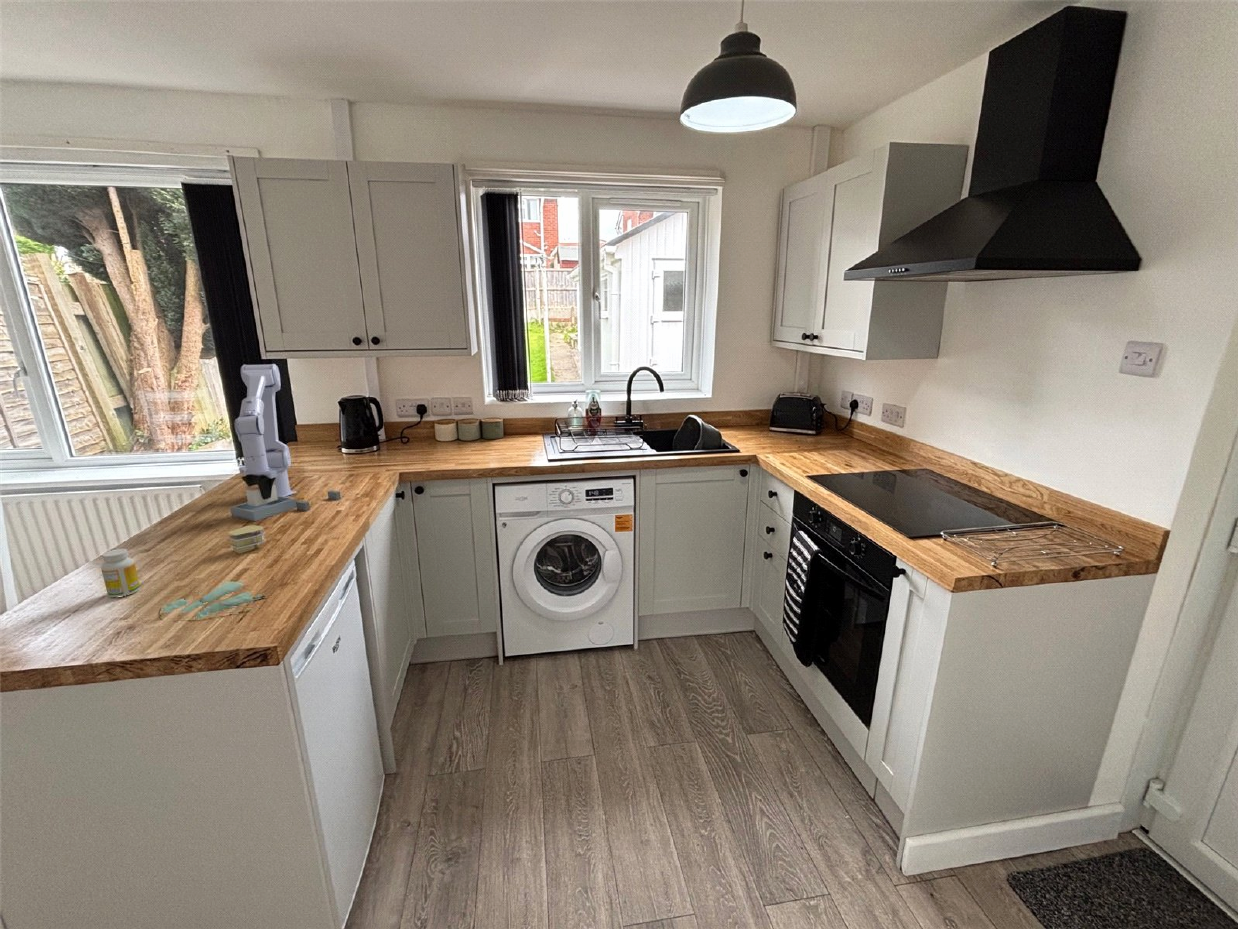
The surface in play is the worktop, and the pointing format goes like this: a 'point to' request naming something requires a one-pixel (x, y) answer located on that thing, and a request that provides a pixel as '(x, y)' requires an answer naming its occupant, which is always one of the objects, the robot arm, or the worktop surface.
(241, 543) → the beige layered stack
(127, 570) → the supplement bottle
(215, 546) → the worktop surface
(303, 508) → the grey blocks
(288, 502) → the tray
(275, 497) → the pink and gray block
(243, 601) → the pale green flat pieces
